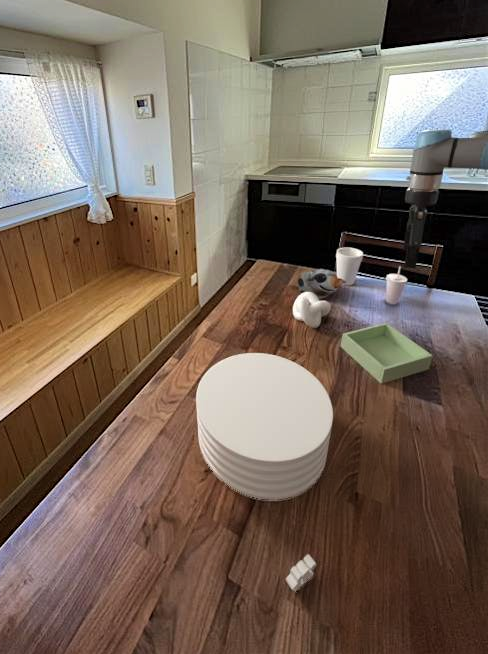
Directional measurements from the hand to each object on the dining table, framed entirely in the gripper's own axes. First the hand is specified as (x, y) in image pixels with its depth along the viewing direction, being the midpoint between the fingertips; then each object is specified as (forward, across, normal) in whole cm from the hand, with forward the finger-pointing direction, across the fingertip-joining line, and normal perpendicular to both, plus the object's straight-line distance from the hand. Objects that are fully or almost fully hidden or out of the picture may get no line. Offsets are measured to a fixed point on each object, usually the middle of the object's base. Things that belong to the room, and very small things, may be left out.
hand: (408, 258), depth 102 cm
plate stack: (+23, +60, -27) cm, 70 cm away
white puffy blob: (+22, +11, -25) cm, 35 cm away
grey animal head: (+22, -8, -25) cm, 34 cm away
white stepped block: (+24, +82, -14) cm, 86 cm away
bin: (+23, +21, -4) cm, 31 cm away
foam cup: (+22, -21, -18) cm, 35 cm away
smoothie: (+22, -12, -1) cm, 26 cm away
